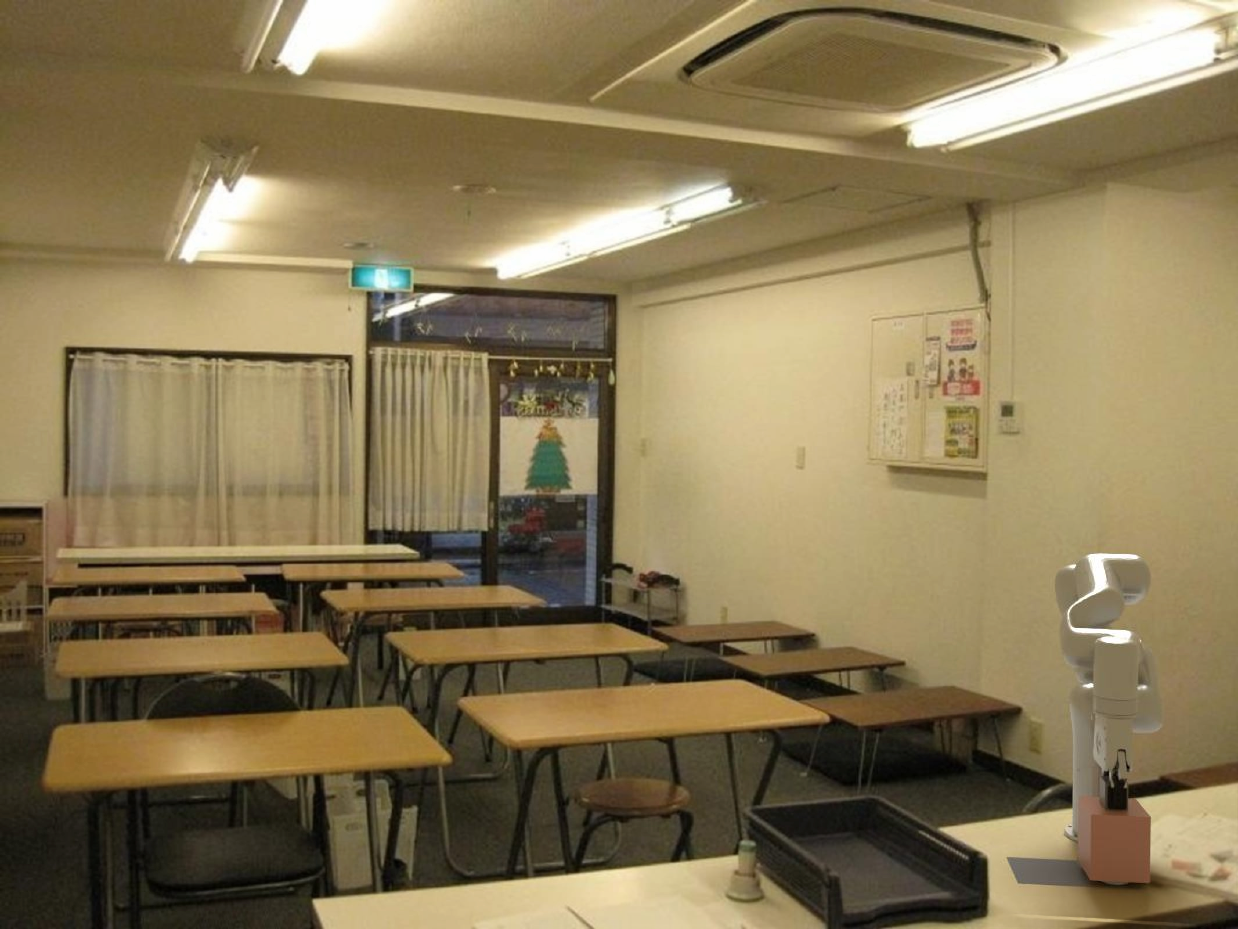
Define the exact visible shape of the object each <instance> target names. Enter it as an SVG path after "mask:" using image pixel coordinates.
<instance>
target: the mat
mask: <svg viewBox="0 0 1238 929" xmlns="http://www.w3.org/2000/svg"><path fill="white" fill-rule="evenodd" d="M1006 860H1007V862H1008V864H1009V866H1010V868H1011V871H1012V873H1013V875H1014V877H1015V879H1016V881H1017V884H1023V885H1027V884H1028V885H1041V886H1042V885H1043V886H1059V887H1060V886H1063V887H1065V886H1066V887H1082V888H1083V887H1085V888H1093V887H1094V886H1093V885H1092V883H1091V880H1090V879H1089V877H1088V876H1087V874H1086V872H1085V871H1084V869H1083V867H1082V866H1081V864H1080V862H1079V861H1078V859H1059V858H1058V859H1055V858H1037V857H1034V858H1033V857H1018V856H1017V857H1014V856H1012V857H1011V856H1006Z"/></svg>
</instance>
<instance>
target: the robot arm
mask: <svg viewBox="0 0 1238 929" xmlns="http://www.w3.org/2000/svg"><path fill="white" fill-rule="evenodd" d="M1149 566H1150V565H1148V563H1147V561H1146V560H1145V559H1144V557H1141V556H1140V555H1137V554H1127V553H1126V554H1125V553H1117V554H1116V553H1113V554H1112V553H1092V554H1090V553H1089V554H1086V555H1084V556H1083V557H1081V558H1079V559H1078V560H1077V562H1076V563H1074V564H1070V565H1065V566H1063V567H1061V568H1060V569H1059V570H1058V571H1057V572H1056V574H1055V579H1054V593H1055V599H1056V602H1057V606H1058V609H1059V612H1060V614H1061V619H1060V624H1059V641H1060V648H1061V655H1062V658H1063V660H1064V663H1066V665H1067V666H1070V667H1072V668H1073V671H1074V675H1075V677H1076V679H1077V681H1078V682H1079V683H1078V684H1076V685H1075V686H1073V687H1072V689H1071V691H1070V693H1069V696H1068V698H1069V699H1068V705H1069V712H1070V720H1071V728H1072V743H1073V744H1072V746H1073V749H1072V750H1073V752H1072V759H1073V760H1072V823H1069V824H1067V825H1066V826H1065V827H1064V828H1063V832H1064V833H1063V834H1064V836H1066V837H1067V838H1069V839H1070V840H1072V841H1074V842H1076V843H1078V796H1081V797H1100V776H1109V781H1110V786H1108V801H1107V806H1108V808H1109V809H1119V810H1125V809H1126V808H1127V782H1128V779H1129V778H1128V773H1130V772H1132V771H1133V766H1134V765H1133V764H1134V733H1137V734H1140V733H1141V734H1150V733H1151V734H1152V733H1155V732H1156V733H1157V731H1158V730H1159V731H1160V729H1161V728H1162V726H1163V723H1164V720H1165V708H1164V707H1165V706H1164V701H1163V699H1164V698H1163V694H1162V689H1161V682H1160V677H1159V671H1158V670H1159V669H1158V664H1157V660H1156V656H1155V653H1154V652H1153V650H1152V648H1151V647H1149V645H1146V644H1144V643H1143V641H1142V640H1141V639H1140V637H1139V635H1138V634H1137V633H1135V632H1133V631H1131V630H1126V629H1113V627H1112V625H1111V624H1112V623H1114V622H1116V621H1117V620H1119V619H1120V618H1121V616H1122V615H1123V614H1124V611H1125V609H1126V605H1127V606H1128V605H1130V606H1131V605H1136V604H1139V603H1140V602H1141V601H1142V600H1143V599H1145V597H1146V596H1147V595H1148V593H1149V591H1150V589H1151V585H1152V584H1151V583H1152V574H1151V569H1150V567H1149ZM1114 776H1115V777H1114Z"/></svg>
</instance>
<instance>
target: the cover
mask: <svg viewBox="0 0 1238 929" xmlns="http://www.w3.org/2000/svg"><path fill="white" fill-rule="evenodd" d="M1114 777H1115V776H1114ZM1108 786H1110V781H1109V776H1100V797H1081V796H1078V842H1077V861H1078V863H1079V864H1080V866H1081V868H1082V869H1083V871H1084V873H1085V875H1086V876H1087V878H1088V880H1089V881H1101V882H1102V881H1116V882H1128V883H1138V884H1139V883H1140V884H1150V883H1151V844H1152V843H1151V842H1152V841H1151V836H1152V835H1151V833H1152V832H1151V830H1152V828H1151V826H1152V824H1151V823H1152V816H1151V815H1150V814H1149V813H1148V812H1147V811H1146V809H1145V808H1144V807H1143V806H1142V804H1141V803H1140V802H1139V801H1138V800H1137V798H1129V782H1128V781H1127V808H1126V809H1125V810H1119V809H1109V808H1108V806H1107V801H1108Z"/></svg>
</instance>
